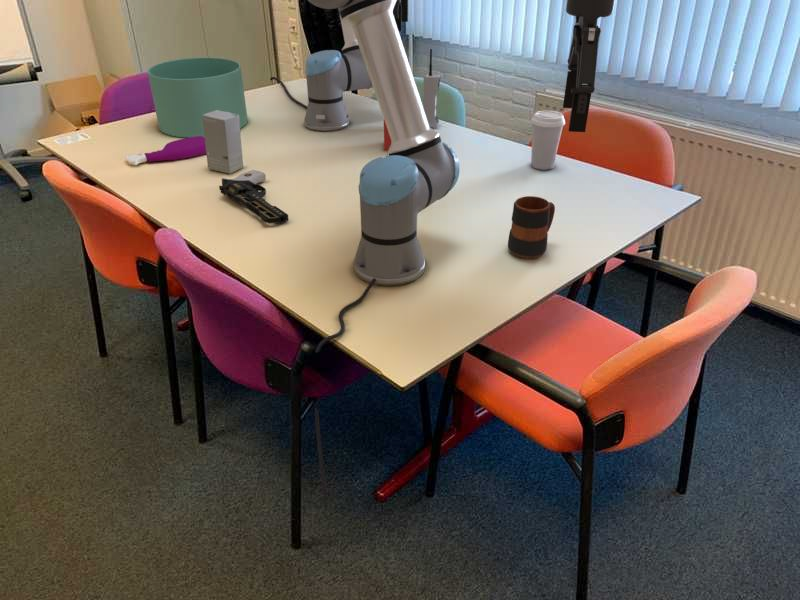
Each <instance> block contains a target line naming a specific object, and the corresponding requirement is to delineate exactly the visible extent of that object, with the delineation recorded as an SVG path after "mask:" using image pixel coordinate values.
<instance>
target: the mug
mask: <svg viewBox="0 0 800 600" xmlns="http://www.w3.org/2000/svg"><path fill="white" fill-rule="evenodd" d="M555 213H556V207H555V204H554V203H553V202H551V201H548V200H547V199H546V198H543V197H539V196H531V195H528V196H527V195H526V196H521V197H518V198H517V199H515V201H514V202H513V208H512V213H511V226H510V227H511V228H510V230H509V232H508V233H509V234H508V240H507V248H508V250H509V252H510V253H511V254H512V255H513V256H515V257H518V258H521V259H528V260H529V259H531V260H533V259H537V258H540V257H542V256H543V255H544V254H545V253H546V251H547V247H548V240H549V239H548V238H549V235H548V233H549V231H550V229H551V226H552V224H553V220H554V216H555Z"/></svg>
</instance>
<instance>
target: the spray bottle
mask: <svg viewBox="0 0 800 600" xmlns="http://www.w3.org/2000/svg"><path fill="white" fill-rule="evenodd" d="M202 155H207V154H206V144H205V137H203V136H196V137H190V138H185V137H184V138H180V139H176V140H172V141H170V142H168V143H166V144H165V145H164V146H163V148H162V149H161V150H156V151H152V152H145V153H143V152H140V153H138V154H134V155H133V154H124V159H125V160H126V162H128V163H129V164H130V165H132V166H137V165H138V164H139V165H140V164H142V163H146V162H158V161H161V162H162V161H177V160H185V159H188V158H194V157H198V156H202Z"/></svg>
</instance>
